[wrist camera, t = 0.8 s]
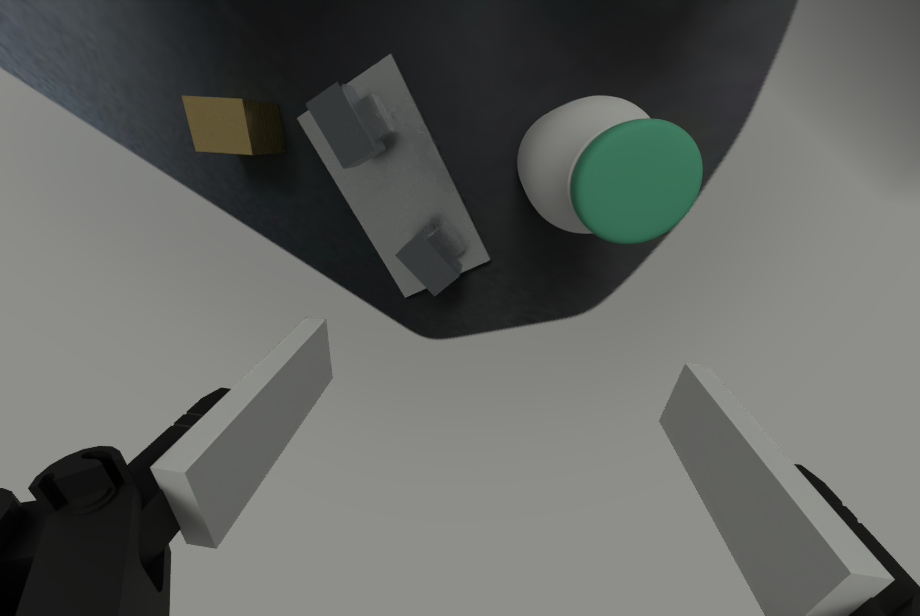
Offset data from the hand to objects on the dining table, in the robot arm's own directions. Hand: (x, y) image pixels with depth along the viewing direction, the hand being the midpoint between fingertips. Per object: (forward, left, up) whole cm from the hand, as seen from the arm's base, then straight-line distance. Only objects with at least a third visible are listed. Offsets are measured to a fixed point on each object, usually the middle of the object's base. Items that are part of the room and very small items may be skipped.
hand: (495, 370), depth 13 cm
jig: (-7, -7, -24) cm, 26 cm away
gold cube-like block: (-18, -17, -24) cm, 34 cm away
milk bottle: (-3, +7, -24) cm, 25 cm away
